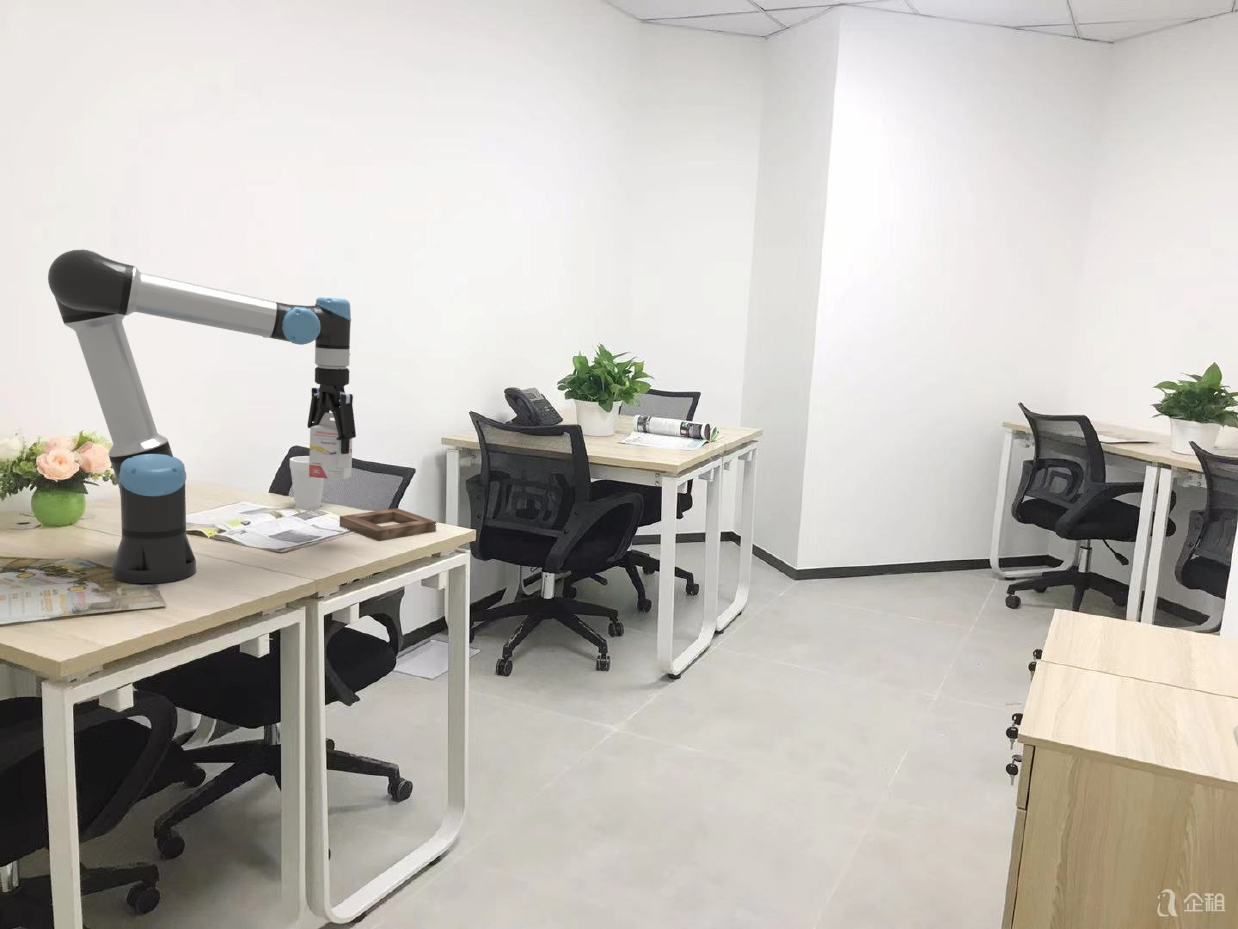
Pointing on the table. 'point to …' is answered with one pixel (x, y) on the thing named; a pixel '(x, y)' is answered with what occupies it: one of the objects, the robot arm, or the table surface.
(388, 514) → the square wooden frame
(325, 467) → the ink cartridge box
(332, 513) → the table surface
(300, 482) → the foam cup
